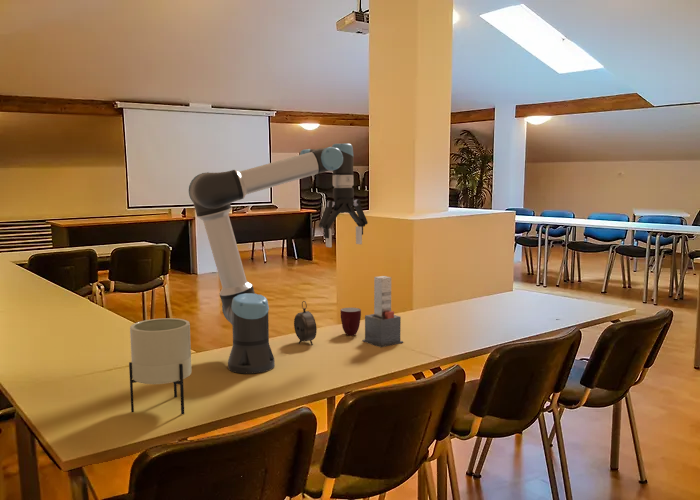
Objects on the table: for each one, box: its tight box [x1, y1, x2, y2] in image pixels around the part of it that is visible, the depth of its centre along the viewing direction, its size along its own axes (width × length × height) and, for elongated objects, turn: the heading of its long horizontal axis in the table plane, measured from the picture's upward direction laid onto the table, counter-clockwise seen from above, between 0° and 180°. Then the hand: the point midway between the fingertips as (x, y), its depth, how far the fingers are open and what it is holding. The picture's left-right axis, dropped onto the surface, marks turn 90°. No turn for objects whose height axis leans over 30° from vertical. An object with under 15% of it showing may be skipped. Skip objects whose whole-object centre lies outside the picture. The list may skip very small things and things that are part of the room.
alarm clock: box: [293, 300, 318, 346], centre depth 229 cm, size 11×5×16 cm, turn 31°
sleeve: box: [361, 310, 404, 348], centre depth 230 cm, size 11×11×12 cm
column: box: [373, 275, 392, 319], centre depth 229 cm, size 4×5×24 cm
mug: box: [340, 307, 362, 337], centre depth 241 cm, size 10×8×10 cm
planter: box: [128, 317, 192, 415], centre depth 164 cm, size 15×16×23 cm
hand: (344, 245), depth 223 cm, fingers open, 13 cm apart
